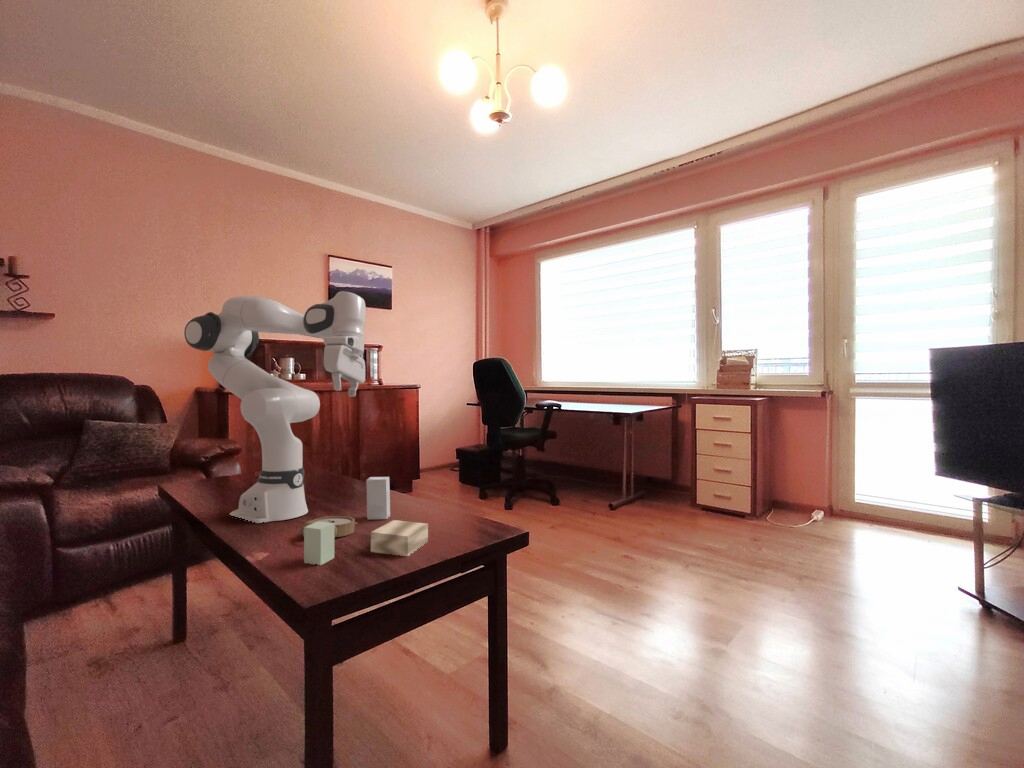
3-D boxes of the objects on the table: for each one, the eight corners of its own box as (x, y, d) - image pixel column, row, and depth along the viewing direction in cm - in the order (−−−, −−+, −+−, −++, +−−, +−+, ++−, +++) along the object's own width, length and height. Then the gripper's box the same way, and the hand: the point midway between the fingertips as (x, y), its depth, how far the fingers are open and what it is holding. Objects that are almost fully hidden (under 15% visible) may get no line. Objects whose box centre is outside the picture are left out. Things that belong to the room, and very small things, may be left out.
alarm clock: (364, 518, 124) (327, 524, 110) (362, 536, 123) (324, 545, 109) (330, 514, 128) (291, 520, 114) (328, 532, 127) (288, 540, 113)
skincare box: (390, 515, 136) (390, 476, 136) (386, 520, 132) (387, 479, 132) (370, 515, 136) (370, 476, 136) (365, 520, 131) (366, 479, 131)
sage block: (304, 562, 100) (304, 527, 100) (318, 555, 104) (318, 521, 104) (320, 565, 99) (320, 529, 99) (334, 557, 103) (334, 523, 103)
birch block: (370, 552, 107) (370, 532, 107) (393, 539, 116) (393, 520, 116) (407, 557, 104) (407, 536, 104) (427, 543, 113) (428, 523, 113)
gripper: (352, 355, 139) (349, 399, 136) (320, 335, 119) (316, 386, 116) (371, 355, 138) (369, 399, 136) (343, 335, 118) (340, 386, 116)
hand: (344, 393), depth 126 cm, fingers open, 8 cm apart
